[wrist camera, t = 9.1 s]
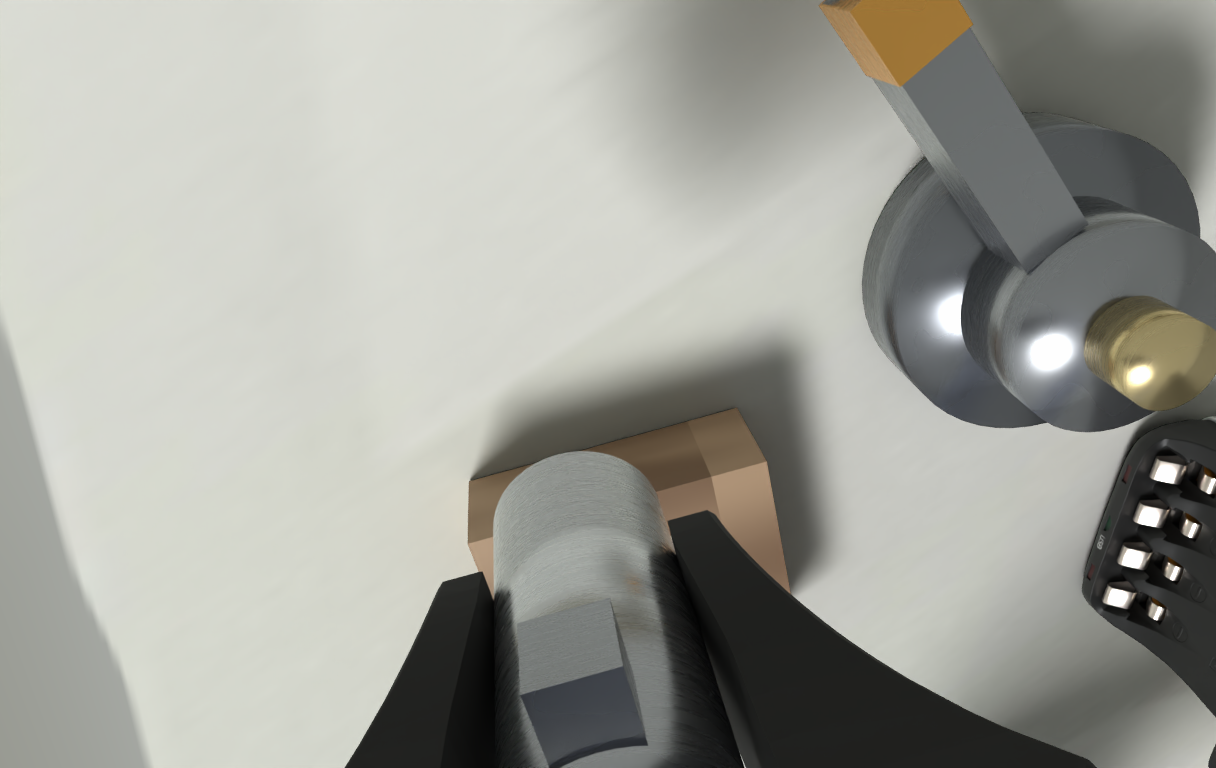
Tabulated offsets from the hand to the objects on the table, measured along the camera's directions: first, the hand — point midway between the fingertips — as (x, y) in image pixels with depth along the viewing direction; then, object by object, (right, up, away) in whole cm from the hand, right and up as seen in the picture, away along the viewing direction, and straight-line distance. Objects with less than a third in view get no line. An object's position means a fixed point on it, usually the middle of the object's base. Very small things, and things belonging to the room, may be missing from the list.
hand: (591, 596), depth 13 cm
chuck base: (+10, +6, +8) cm, 14 cm away
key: (0, +1, +1) cm, 2 cm away
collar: (+8, +7, +5) cm, 12 cm away
